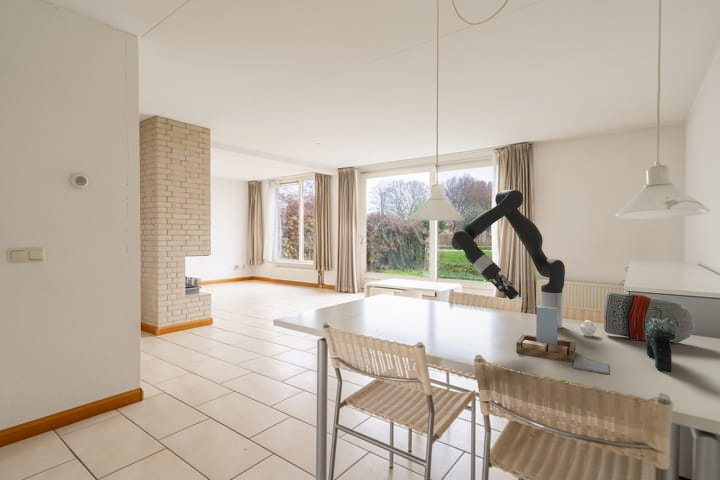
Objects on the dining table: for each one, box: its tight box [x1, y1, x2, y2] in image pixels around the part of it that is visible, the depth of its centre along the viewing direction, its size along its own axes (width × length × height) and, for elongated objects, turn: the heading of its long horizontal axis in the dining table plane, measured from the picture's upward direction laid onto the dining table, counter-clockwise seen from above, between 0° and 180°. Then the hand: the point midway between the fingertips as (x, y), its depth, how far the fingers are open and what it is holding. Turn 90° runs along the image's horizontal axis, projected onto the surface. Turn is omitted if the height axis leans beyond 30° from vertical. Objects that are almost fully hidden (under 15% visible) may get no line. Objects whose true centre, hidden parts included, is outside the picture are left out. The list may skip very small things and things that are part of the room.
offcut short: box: [548, 344, 568, 355], centre depth 132 cm, size 6×4×4 cm, turn 55°
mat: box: [572, 357, 610, 375], centre depth 122 cm, size 10×10×1 cm
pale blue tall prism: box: [535, 305, 559, 345], centre depth 139 cm, size 7×4×17 cm, turn 56°
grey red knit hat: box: [603, 291, 696, 344], centre depth 152 cm, size 19×6×30 cm
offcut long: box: [522, 340, 547, 351], centre depth 137 cm, size 8×4×4 cm, turn 52°
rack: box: [515, 333, 577, 363], centre depth 137 cm, size 19×13×4 cm
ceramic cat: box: [645, 308, 675, 373], centre depth 125 cm, size 20×6×20 cm, turn 151°
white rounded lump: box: [579, 320, 597, 337], centre depth 159 cm, size 6×6×7 cm
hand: (515, 296), depth 146 cm, fingers open, 8 cm apart
